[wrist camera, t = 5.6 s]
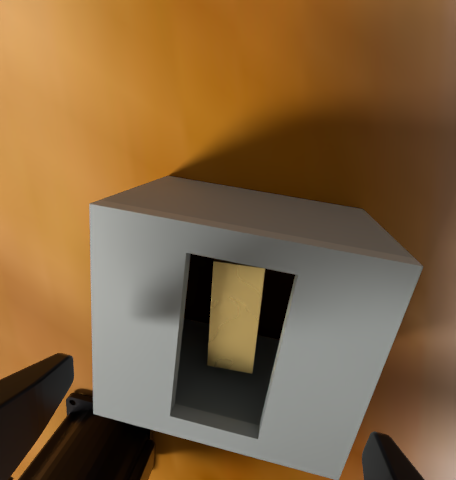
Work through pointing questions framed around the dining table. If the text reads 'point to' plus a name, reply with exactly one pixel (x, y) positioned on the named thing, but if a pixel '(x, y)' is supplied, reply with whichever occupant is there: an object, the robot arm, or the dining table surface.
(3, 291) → the dining table surface
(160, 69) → the dining table surface
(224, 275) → the block
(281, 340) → the coin box
